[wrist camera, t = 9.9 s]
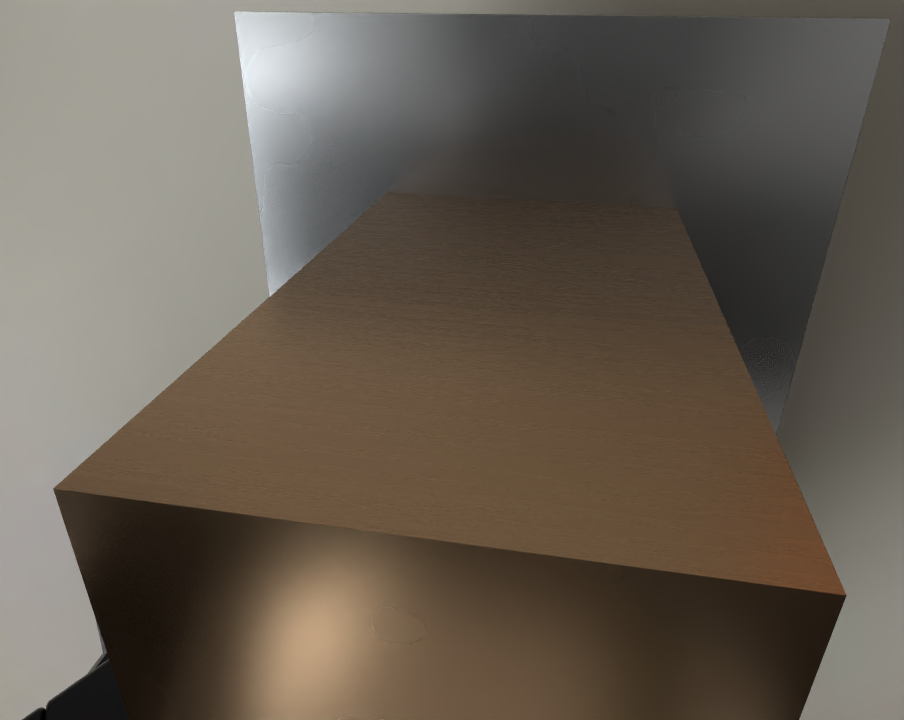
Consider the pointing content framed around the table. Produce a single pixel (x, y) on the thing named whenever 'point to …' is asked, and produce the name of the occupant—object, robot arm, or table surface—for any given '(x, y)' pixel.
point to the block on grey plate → (496, 382)
